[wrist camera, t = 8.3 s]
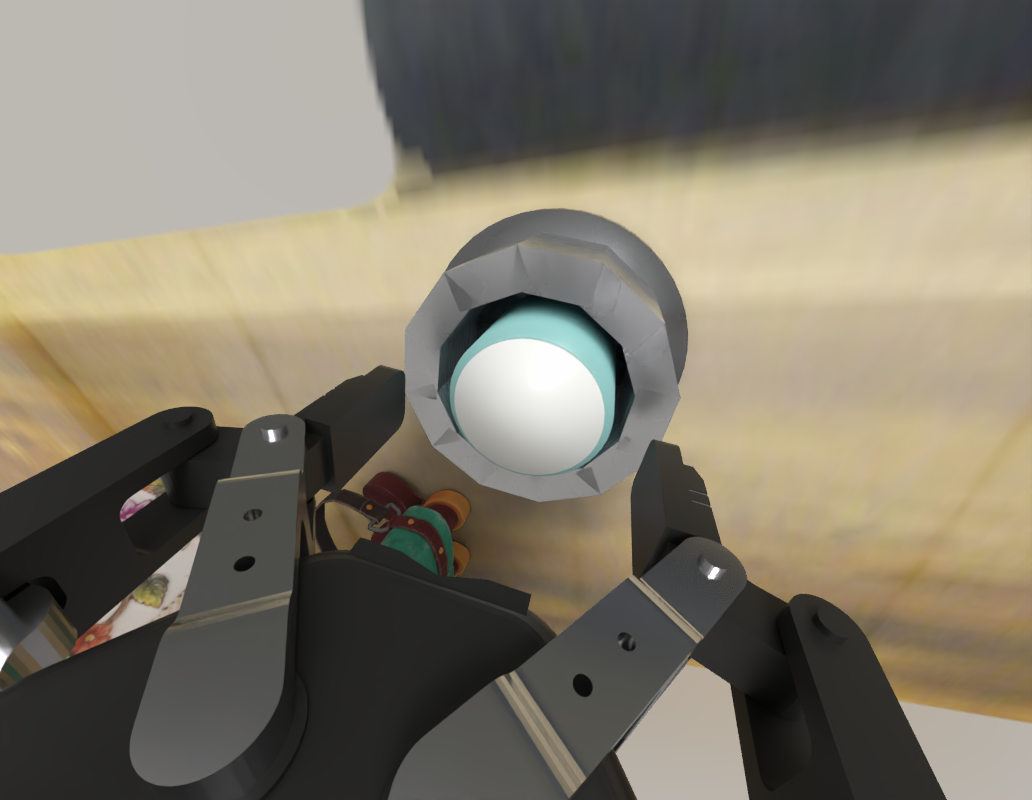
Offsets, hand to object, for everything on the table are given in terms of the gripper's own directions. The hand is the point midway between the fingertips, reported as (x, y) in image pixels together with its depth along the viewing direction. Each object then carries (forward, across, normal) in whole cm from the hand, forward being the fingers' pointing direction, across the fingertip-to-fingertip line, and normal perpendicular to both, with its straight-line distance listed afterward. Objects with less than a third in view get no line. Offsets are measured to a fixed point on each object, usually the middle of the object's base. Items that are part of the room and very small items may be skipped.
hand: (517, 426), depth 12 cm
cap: (+7, 0, 0) cm, 7 cm away
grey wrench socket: (+8, 0, 0) cm, 8 cm away
